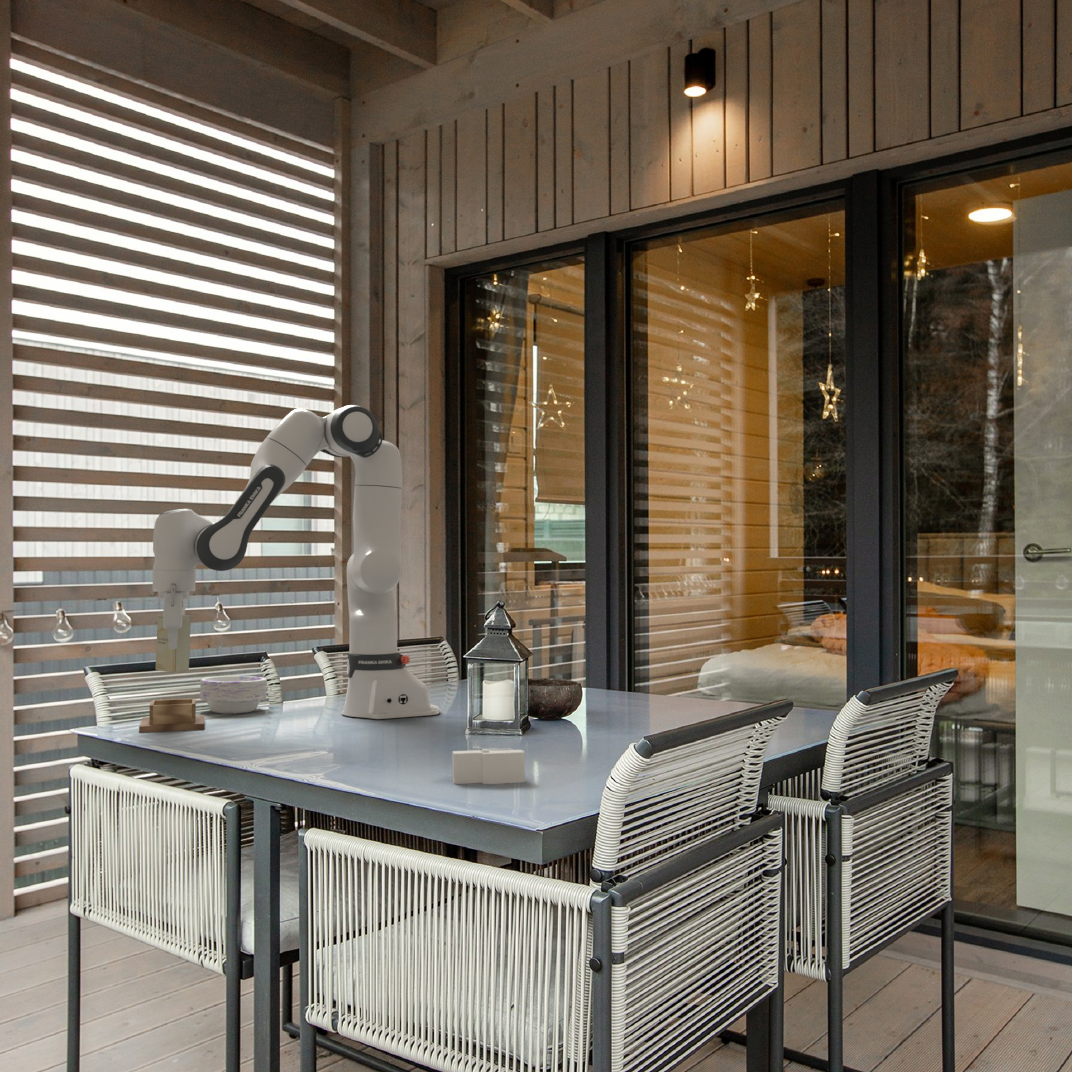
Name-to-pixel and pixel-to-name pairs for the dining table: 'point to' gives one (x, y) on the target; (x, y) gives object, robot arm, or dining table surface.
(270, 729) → the dining table surface
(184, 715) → the box
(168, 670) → the skincare box
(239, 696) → the paper bowls
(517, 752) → the napkin holder
